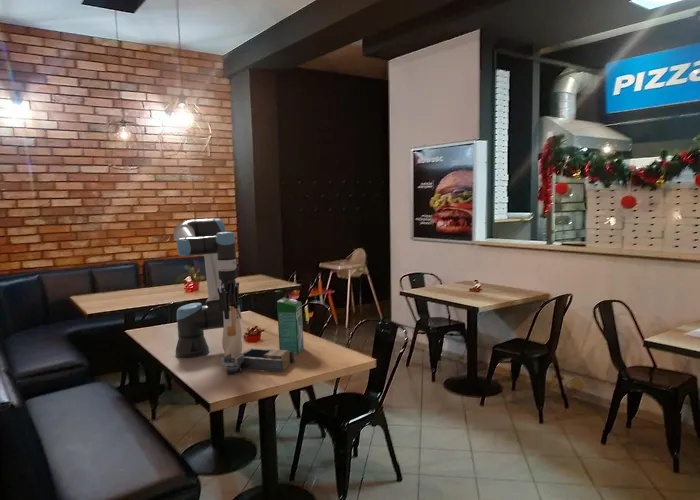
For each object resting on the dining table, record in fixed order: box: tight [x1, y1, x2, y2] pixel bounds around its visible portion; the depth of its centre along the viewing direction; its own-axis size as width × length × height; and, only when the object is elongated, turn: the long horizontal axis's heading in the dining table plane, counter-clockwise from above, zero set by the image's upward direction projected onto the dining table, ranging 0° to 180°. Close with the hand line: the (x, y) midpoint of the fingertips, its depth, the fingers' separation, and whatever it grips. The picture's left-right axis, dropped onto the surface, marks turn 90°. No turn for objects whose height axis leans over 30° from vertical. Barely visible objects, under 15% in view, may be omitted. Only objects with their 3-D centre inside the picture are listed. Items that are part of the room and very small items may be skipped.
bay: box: [237, 347, 296, 373], centre depth 226 cm, size 21×13×5 cm, turn 71°
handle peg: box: [227, 306, 236, 336], centre depth 216 cm, size 3×3×12 cm
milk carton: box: [276, 297, 305, 355], centre depth 244 cm, size 9×9×25 cm
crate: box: [264, 348, 291, 370], centre depth 224 cm, size 8×8×6 cm
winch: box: [221, 353, 244, 376], centre depth 219 cm, size 7×8×7 cm
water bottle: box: [221, 302, 243, 358], centre depth 237 cm, size 10×9×28 cm
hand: (231, 324), depth 217 cm, fingers closed on handle peg, 3 cm apart
